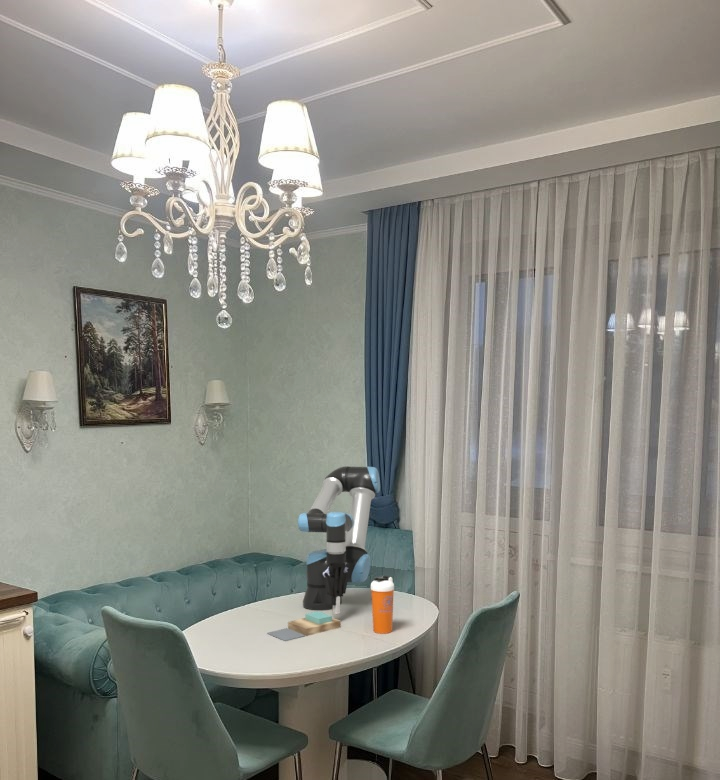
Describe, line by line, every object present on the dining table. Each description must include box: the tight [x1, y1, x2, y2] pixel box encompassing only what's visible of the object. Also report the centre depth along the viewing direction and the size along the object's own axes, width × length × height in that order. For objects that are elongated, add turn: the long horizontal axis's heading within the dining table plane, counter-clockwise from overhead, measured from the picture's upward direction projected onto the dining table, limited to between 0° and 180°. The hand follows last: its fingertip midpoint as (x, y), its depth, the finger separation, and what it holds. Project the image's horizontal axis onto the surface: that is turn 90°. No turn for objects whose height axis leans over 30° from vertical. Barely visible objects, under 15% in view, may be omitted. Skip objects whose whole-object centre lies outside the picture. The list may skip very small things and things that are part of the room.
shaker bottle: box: [370, 574, 395, 635], centre depth 267 cm, size 9×9×20 cm
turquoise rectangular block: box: [304, 610, 333, 624], centre depth 272 cm, size 6×9×2 cm, turn 40°
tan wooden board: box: [287, 617, 342, 637], centre depth 271 cm, size 16×12×2 cm
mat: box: [266, 627, 306, 642], centre depth 262 cm, size 9×12×1 cm
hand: (336, 613), depth 278 cm, fingers closed
